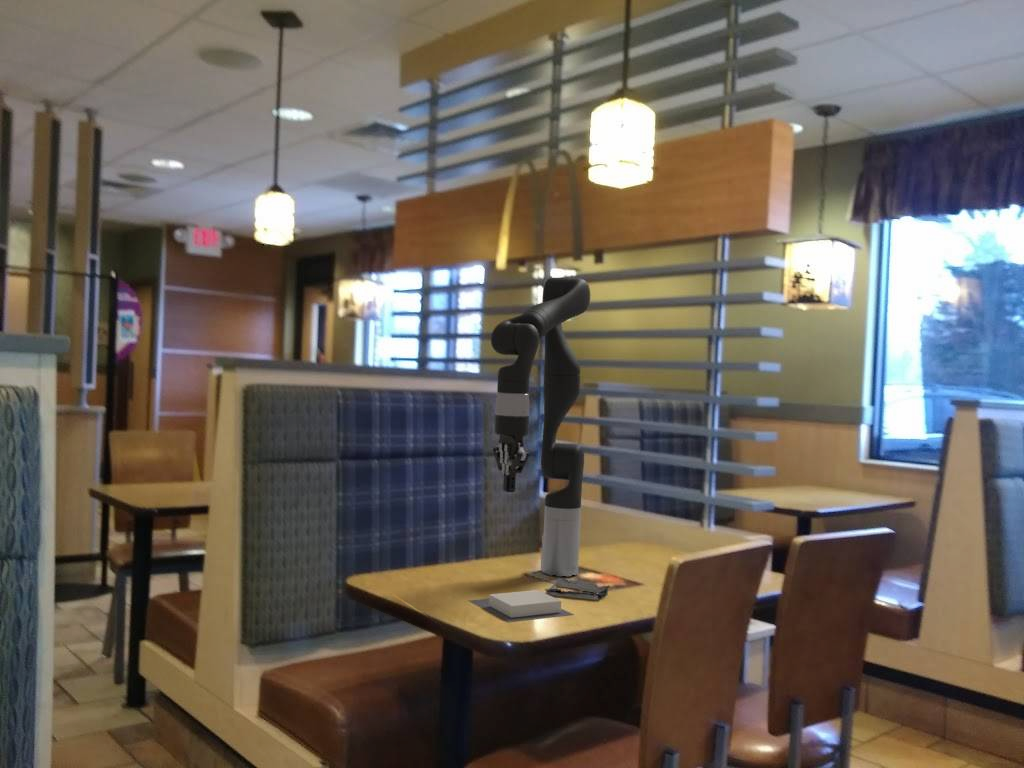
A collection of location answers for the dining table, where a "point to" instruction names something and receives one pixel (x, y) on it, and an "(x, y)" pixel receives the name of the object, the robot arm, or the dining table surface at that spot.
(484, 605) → the rubber mat
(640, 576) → the dining table surface
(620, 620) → the dining table surface
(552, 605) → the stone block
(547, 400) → the robot arm
